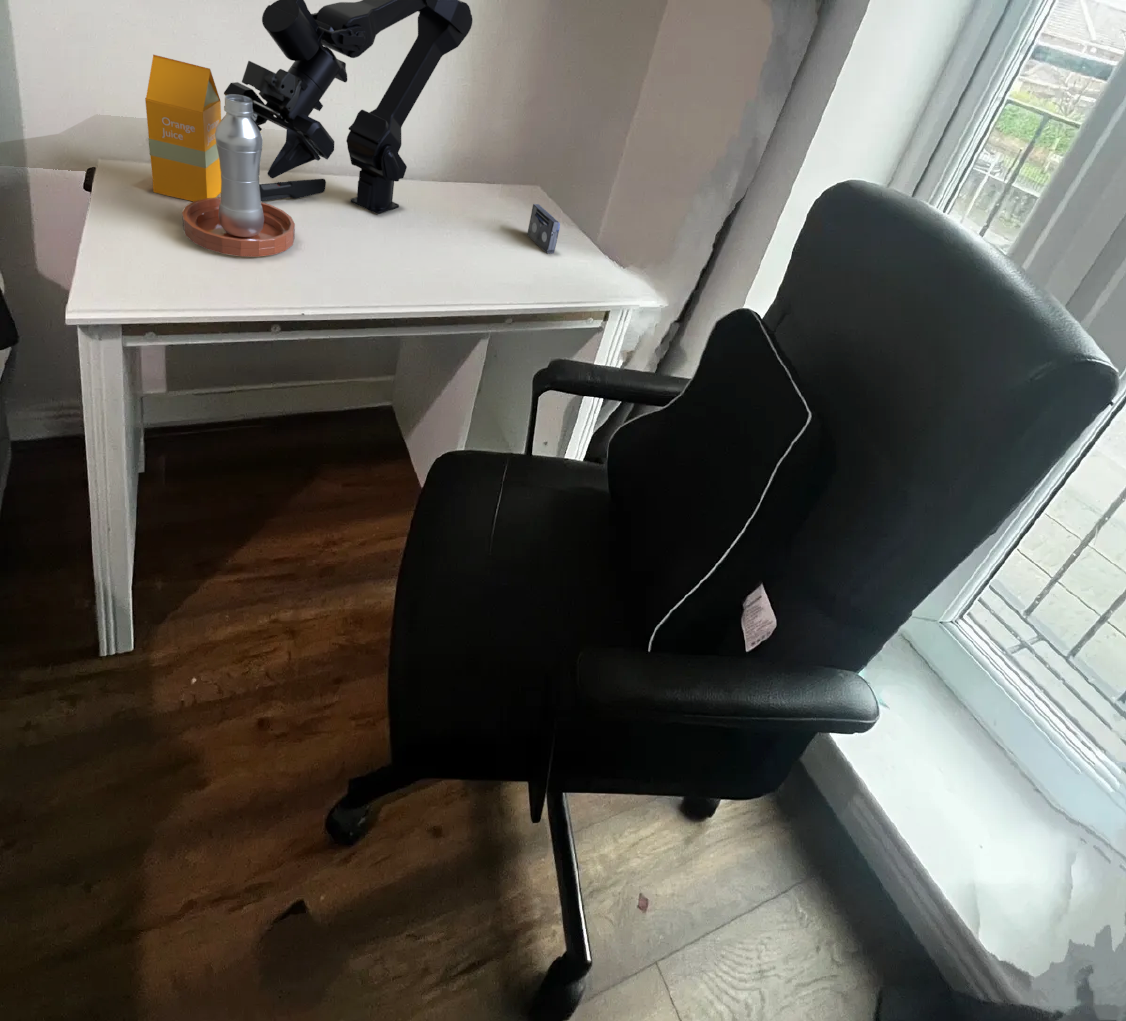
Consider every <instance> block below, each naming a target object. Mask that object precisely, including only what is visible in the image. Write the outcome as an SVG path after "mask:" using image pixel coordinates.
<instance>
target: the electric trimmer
mask: <svg viewBox="0 0 1126 1021" xmlns="http://www.w3.org/2000/svg"><path fill="white" fill-rule="evenodd" d="M326 186H327V181H326V179H325V178H313V179H299V180H288V181H277V182H269V183H259V187H260V197H261V202H266V201H273V200H282V199H287V198H290V199H293V200H298V199H302V198H307V197H311V196H315V195H319V194H322V193H325V191H326Z"/></svg>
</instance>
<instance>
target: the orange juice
mask: <svg viewBox="0 0 1126 1021" xmlns="http://www.w3.org/2000/svg"><path fill="white" fill-rule="evenodd" d="M148 77H149V78H148V84H147V90H146V95H145V99H144V101H145V110H146V111H145V112H146V120H147V121H146V123H147V131H148V132H147V134H148V135H147V136H148V137H147V139H148V150H149V157H150V167H151V168H150V169H151V179H152V189H153V190H152V192H153V193H155V194H159V195H164V196H167V197H171V198H172V197H173V198H177V199H180V200H184V201H185V200H186V201H190V202H194V201H197V200H201V199H205V198H215V197H218V196H219V195H221V170H220V160H219V155H218V150H217V145H216V139H215V132H216V128H217V126H218V124H219V123H220V121H221V120H222V103H221V101H222V100H221V97H220V95H219V92H218V89H217V86H216V83H215V80H214V76H213V73H212V71H211V68H208V67H204V66H202V65H197V64H193V63H189V62H185V61H181V60H177V59H174V58H169V57H165V56H161V55H157V54H152V61H151V67H150V73H149V76H148Z"/></svg>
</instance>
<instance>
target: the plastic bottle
mask: <svg viewBox="0 0 1126 1021" xmlns="http://www.w3.org/2000/svg"><path fill="white" fill-rule="evenodd" d="M252 103H253V102H252V99H251V98H249V97H246V96H242V95H236V94H230V95H226V96H225V95H224V106H223V110H224V112H225V115H224V116H223V117H222V118H221V121H220V123H219V124H218V126H217V128H216V132H215V139H216V145H217V150H218V155H219V160H220V170H221V193H220V197H221V201H220V205H219V214H218V216H219V220H220V224H221V226H222V228H223V229H224V230H225V231H226V232H227V233H229V234H231V235H235V236H240V237H251V236H256V235H258V234H259V233H260V232H261V230H262V229H263V224H264V214H263V209H262V205H261V202H262V201H261V197H260V187H259V184H260V175H261V174H260V171H261V159H262V152H263V145H264V144H263V143H264V140H263V136H262V133H261V131H259V129H258V127H257V125H256V124H255V122H254V121H253V120H252V118H251V115H253V109H252Z"/></svg>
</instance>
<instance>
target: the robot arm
mask: <svg viewBox="0 0 1126 1021" xmlns="http://www.w3.org/2000/svg"><path fill="white" fill-rule="evenodd" d="M415 13H418V16H417V36H416V38H415V41H414V42H413V44H412V46H411V47H410V49H409V51H408V53H407V54H406V56H405V58H404V60H403V61H402V63H401V65H400V67H399V68H398V70H397V72H396V74H395V75H394V77H393V79H392V80H391V82H390V84H389V86H388V87H387V89H386V91H385V93H384V94H383V96H382V98H381V99H380V102H379V103H378V104H377V106H376V108H374V109H373V110H371V111H367V110H365V109H360V110H359V111H358V112H357V114H356V117H355V119H354V121H353V122H352V124H351V125H349V127H348V130H349V132H348V134H347V137H346V140H345V142H346V143H347V144H346V146H347V150H348V154H349V160H350V164H351V165H352V166H355V167H357V168H358V169H359V168H360V170H359V173H358V174H359V175H358V180H357V189H356V190H357V192H356V197H353V198H350V200H349V201H350V203H351V204H354V205H356V206H358V207H360V208H363V209H365V210H367V211H369V212H372V213H374V214H376V215H381V214H384V213H387V212H389V211H393V210H396V209H399V207H400V204H399V203H396V202H394V201H393V198H394V188H395V187H394V186H395V182H396V183H397V182H400V180H401V179H404V178H405V175H406V171H407V168H408V167H407V164H406V163H405V162H404V159H402V157H401V155H400V154H399V152H400V150H401V147H402V128H403V124H404V123H405V121H406V119H407V118H408V116H409V114H410V113H411V111H412V109H413V107H414V106H415V104H416V102H417V100H418V99H419V97H420V95H421V94H422V92H423V90H424V88H425V87H426V85H427V83H428V82H429V79H430V78H431V76H432V74H433V73H434V71H435V69H436V67H437V66H438V64H439V62H440V61H441V59H442V57H443V56H444V55H446V54H448V53H450V52H452V51H453V50H456V49H457V48H459V46H460V45H461V44H462V42H463V41H464V39H465V38H466V37H467V36H468V34H470V31H471V29H472V27H473V15H472V11H471V8H470V5H469V4H468V3H467V2H465V1H462V0H359V1H355V2H354V1H353V2H352V1H351V2H350V1H349V2H348V1H339V2H334V3H330V4H326V5H323V6H322V7H321V8H319V10H317V12H314V13H311V11H310V10H309V8H308V6H307V3H306V2H305V0H276V1H274V2H272V3H271V4H268V5H267V6H266V7H265V10H264V11H263V12H262V15H261V23H262V26H263V27H264V29H265V30H266V31H267V32H266V33H268V34H269V36H270V38H272V40H273V41H274V42H275V44H276V45H277V47H278V48H279V50H280V51H281V52H282V53H283V55H284V56H285V58H287V59H288V60H290V61H293V63H292V65H291V66H290V67H289V69H288V70H285V69H282V68H279V69H278V70H277V71H276V72H274V71H272V70H270V69H267V68H266V67H264V66H262V65H259V64H257V63H255V62H253V61H251V60H248V61H247V64H246V68H245V70H244V74H243V76H242V80H241V83H240V82H238V81H237V82H230V83H229V84H228V86H227V88H226V89H225V90H224V92H223V95H224V97H225V96H226V95H230V94H236V95H242V96H246V97H249V98H251V99H252V102H253V103H252V109H253V115H251V118H252V120H253V121H254V122H255V124H256V125H257V127H258V129H259V131H260V132H262V130H263V129H262V128H261V125H264V124H266V123H267V122H268V121H269V122H271V123H273V124H275V125H276V126H279V127H280V128H282V129H285V130H286V134H285V142H284V144H283V146H282V147H281V149H280V150H279V151H278V153H277V155H276V157H275V158H274V159H273V162H272V163H271V165H270V166H269V168H268V170H267V173H266V175H267V176H268V177H269V178H270V179H272V180H273V179H276V178H277V177H279V176H282V175H283V174H285V173H287V172H289V171H291V170H293V169H295V168H297V167H300V166H302V165H303V166H304V165H305V164H307V163H310V162H312V161H320V160H321V158H323V159H325V160H326V161H328V160H329V159H330V157H331V155H332V154H333V153H334V152H335V140H334V138H333V137H332V136H331V135H330V133H329V132H328V131H327V130H326V128H325V126H324V125H323V124H322V122H320V121H319V120H316V119H315V118H312V117H310V115H311V113H312V112H313V111H314V110H316V111H317V112H320V111H321V110H322V109H323V107H324V104H323V103H322V102H321V101H320V100H321V99H322V98H323V96H324V95H325V93H326V92H327V90H328V89H329V88H330V86H331V85H332V84H333V82H334V81H335V79H336V80H339V81H340V82H343V83H347V82H348V72H347V67H346V66H347V63H346V62H345V61H343V60H341V59H338V57H336V55H335V53H334V52H336V53H339V54H341V55H344V56H346V57H348V58H350V59H355V58H359V57H360V56H362V55H363V54H364V53H365V52H366V51H368V50H369V49H370V48H371V47H372V46H373V45H374V43H375V40H376V37H377V35H378V34H379V33H381V32H383V31H384V30H386V29H388V28H390V27H391V26H394V25H395V24H397V23H399V22H401V21H403V20H404V19H407V18H408V17H410V16H412V15H414V14H415ZM248 85H249V86H250V87H253V88H254V89H255V90H257V91H259V92H258V94H257V92H255V90H254V89H253V88H250V87H248ZM261 98H262V99H261ZM263 100H264V101H266V103H265V102H264V101H263Z"/></svg>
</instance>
